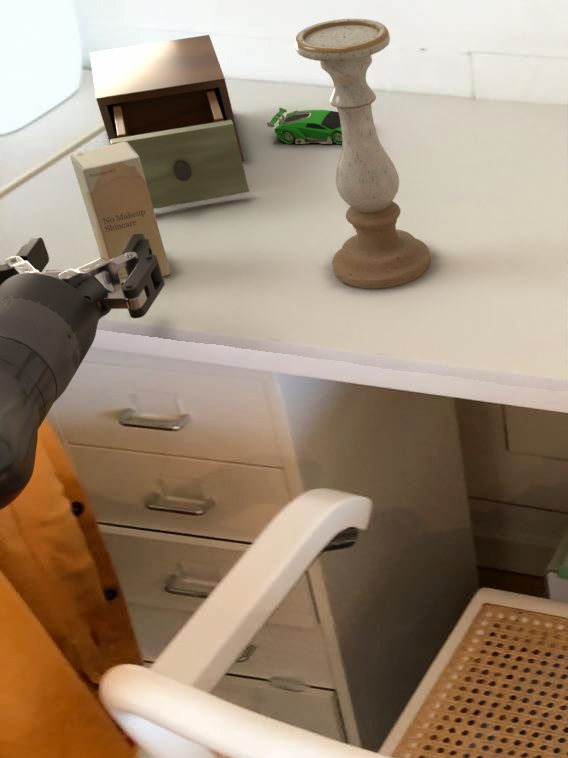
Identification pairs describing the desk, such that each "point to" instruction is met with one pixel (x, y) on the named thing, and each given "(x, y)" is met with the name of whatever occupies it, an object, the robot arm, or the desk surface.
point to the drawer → (182, 147)
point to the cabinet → (157, 75)
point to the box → (117, 201)
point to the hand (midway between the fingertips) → (91, 246)
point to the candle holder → (363, 159)
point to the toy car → (308, 126)
